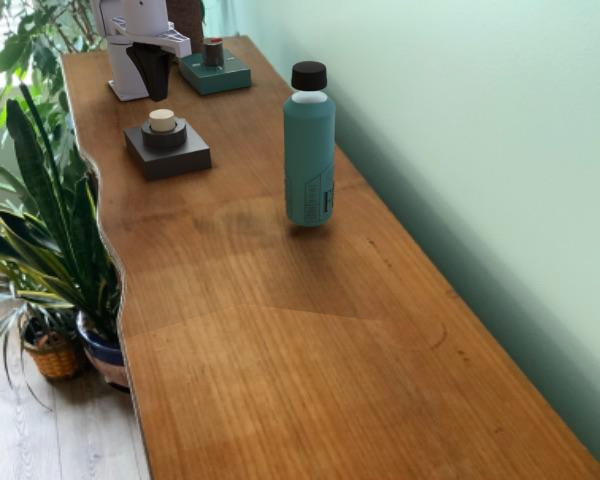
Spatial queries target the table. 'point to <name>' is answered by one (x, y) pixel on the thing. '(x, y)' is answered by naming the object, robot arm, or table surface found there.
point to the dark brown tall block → (186, 21)
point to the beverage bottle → (309, 147)
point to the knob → (212, 51)
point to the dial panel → (215, 73)
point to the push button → (162, 120)
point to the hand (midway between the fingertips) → (159, 99)
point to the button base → (167, 149)
